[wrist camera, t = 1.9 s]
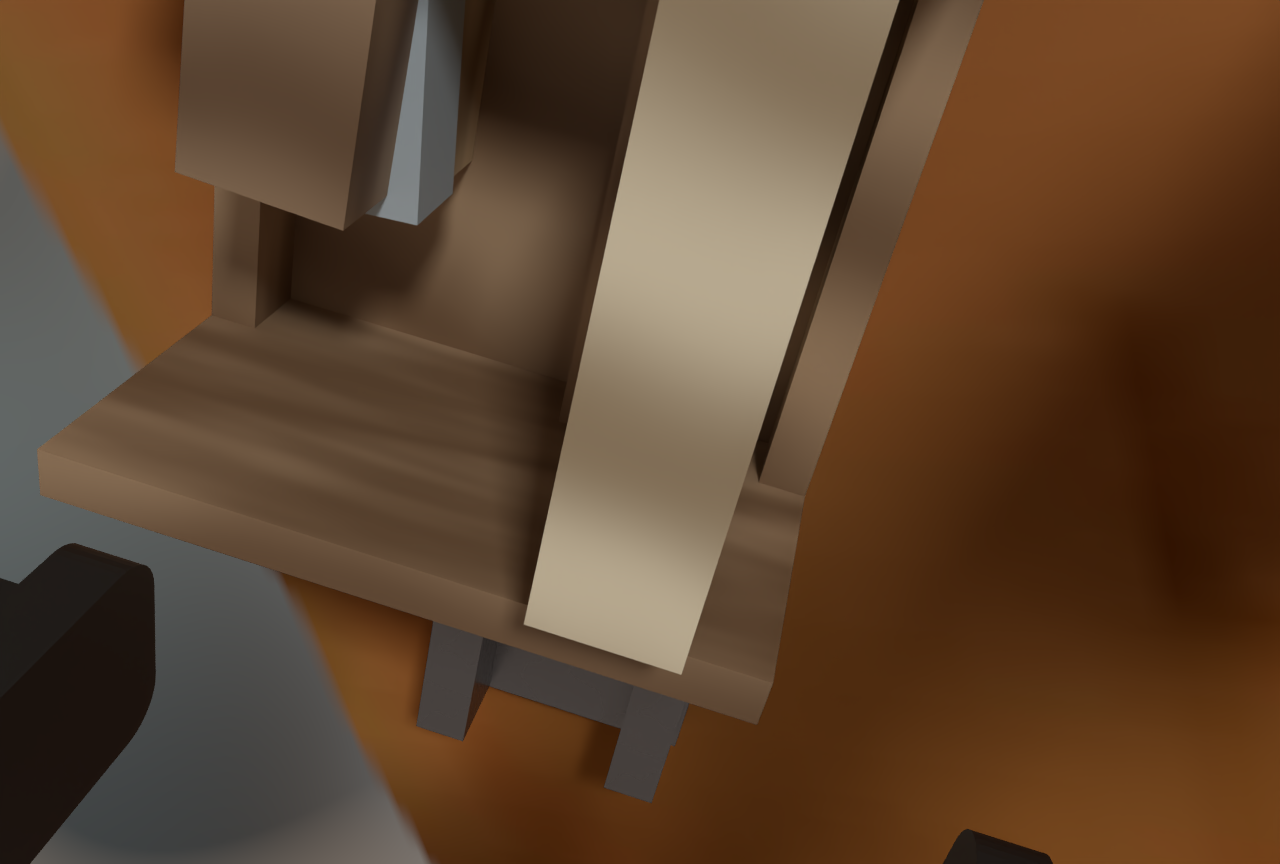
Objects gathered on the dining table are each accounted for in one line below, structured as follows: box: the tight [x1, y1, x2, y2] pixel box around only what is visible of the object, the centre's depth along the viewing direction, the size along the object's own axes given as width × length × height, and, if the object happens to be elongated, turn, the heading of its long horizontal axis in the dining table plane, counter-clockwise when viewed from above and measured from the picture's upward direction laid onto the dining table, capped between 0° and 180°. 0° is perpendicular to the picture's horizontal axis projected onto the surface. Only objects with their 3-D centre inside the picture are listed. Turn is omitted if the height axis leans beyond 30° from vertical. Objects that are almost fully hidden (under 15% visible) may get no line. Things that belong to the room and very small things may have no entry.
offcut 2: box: [365, 0, 465, 225], centre depth 25 cm, size 6×4×2 cm, turn 171°
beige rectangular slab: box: [524, 0, 899, 675], centre depth 23 cm, size 12×3×11 cm, turn 167°
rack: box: [37, 0, 984, 725], centre depth 24 cm, size 17×16×10 cm
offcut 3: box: [454, 0, 495, 176], centre depth 26 cm, size 6×4×2 cm, turn 167°
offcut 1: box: [175, 0, 419, 231], centre depth 23 cm, size 5×4×2 cm
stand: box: [417, 621, 689, 803], centre depth 34 cm, size 9×8×4 cm
